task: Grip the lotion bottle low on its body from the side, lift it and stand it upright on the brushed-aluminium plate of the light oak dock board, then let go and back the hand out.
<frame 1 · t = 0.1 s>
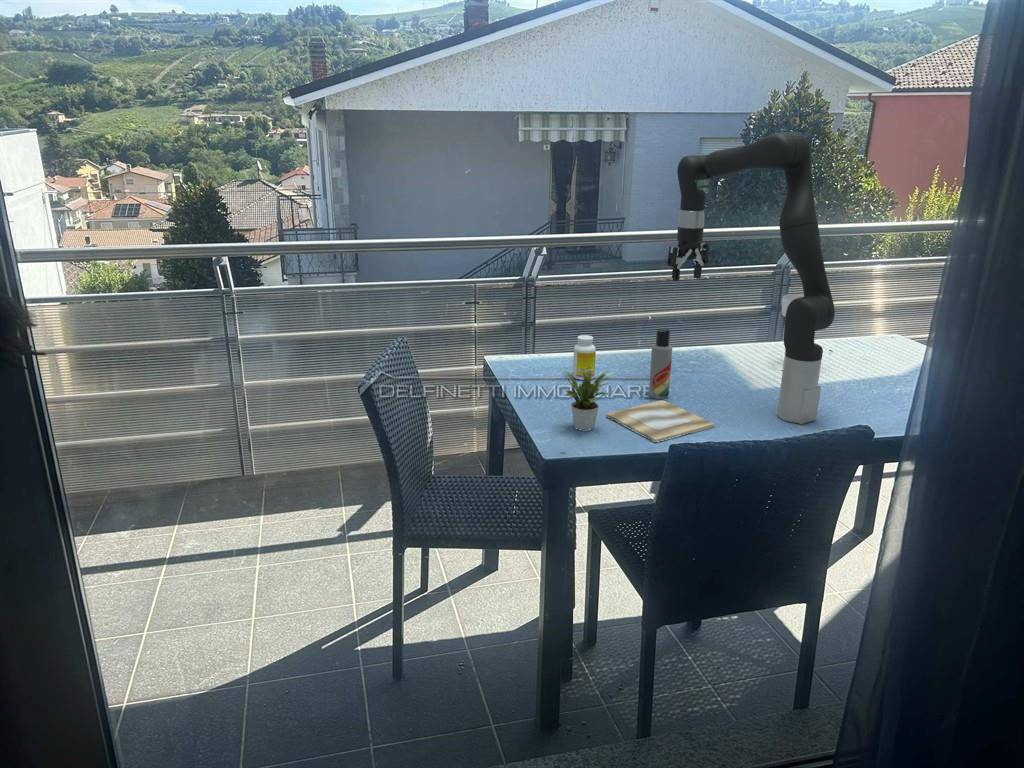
hand: (686, 279, 239), 29 cm above the table, tool pointing down, fingers open, 8 cm apart
lotion bottle: (658, 396, 227), on the table
house plant: (587, 429, 204), on the table
dock: (659, 422, 209), on the table
supplement bottle: (583, 378, 242), on the table
wineglass: (788, 368, 252), on the table
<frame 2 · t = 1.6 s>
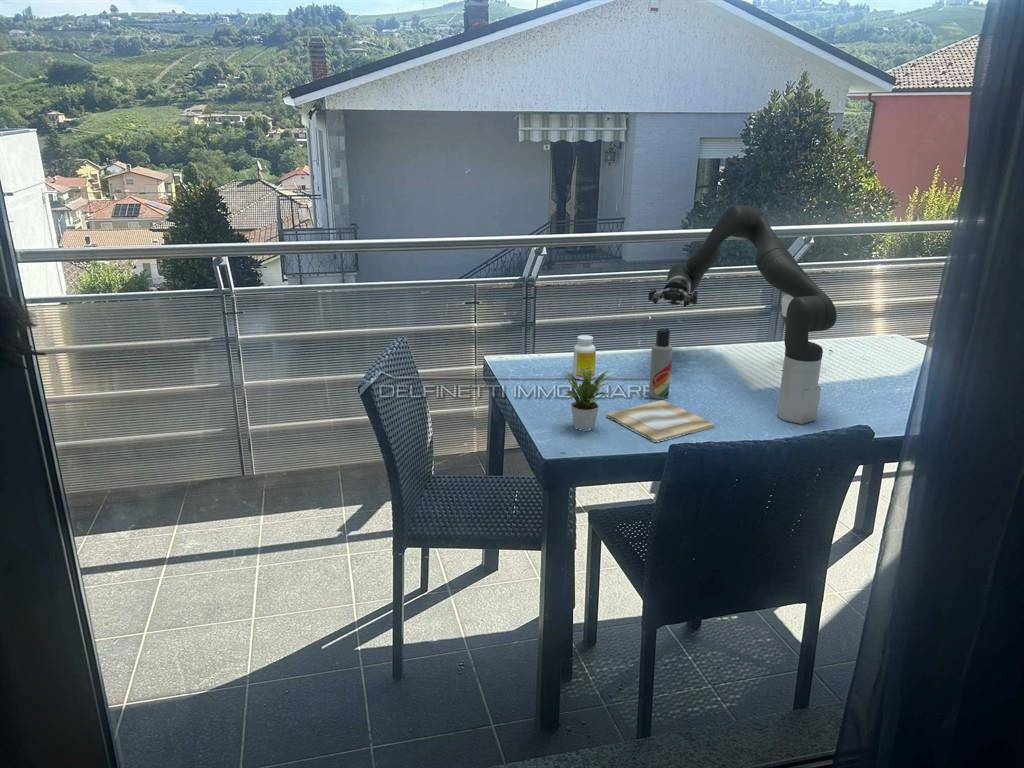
hand: (670, 302, 228), 25 cm above the table, tool horizontal, fingers open, 8 cm apart
nothing on the table moved.
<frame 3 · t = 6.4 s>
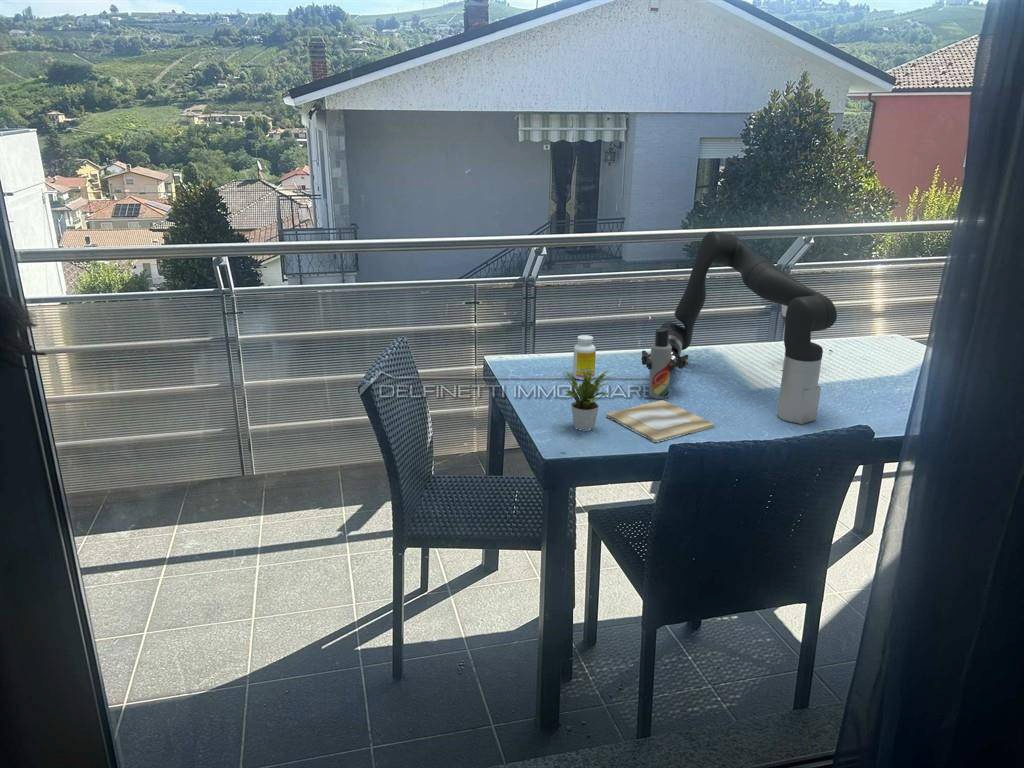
hand: (659, 367, 222), 10 cm above the table, tool horizontal, fingers closed on lotion bottle, 5 cm apart
lotion bottle: (658, 396, 227), on the table, touching gripper
everything else where it was.
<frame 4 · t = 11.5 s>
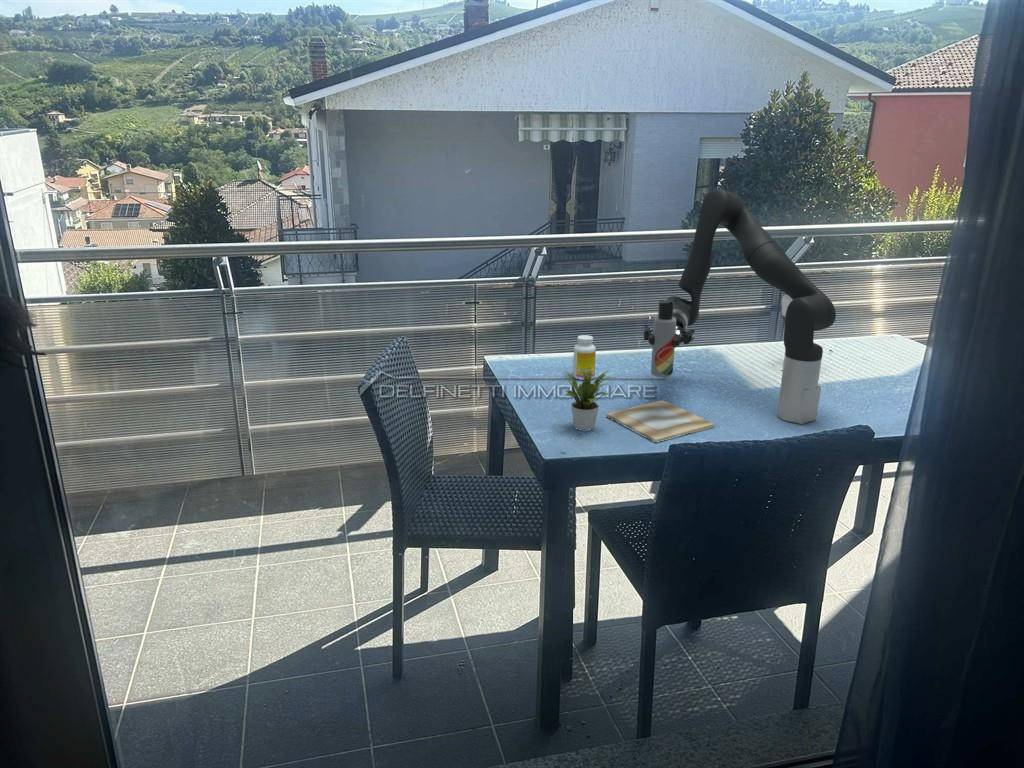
hand: (663, 342, 202), 22 cm above the table, tool horizontal, fingers closed on lotion bottle, 5 cm apart
lotion bottle: (661, 374, 208), point 12 cm above the table, touching gripper
everything else where it was.
when the fingers open (11 cm above the table, at t = 16.7 s): lotion bottle stays where it is, resting on dock.
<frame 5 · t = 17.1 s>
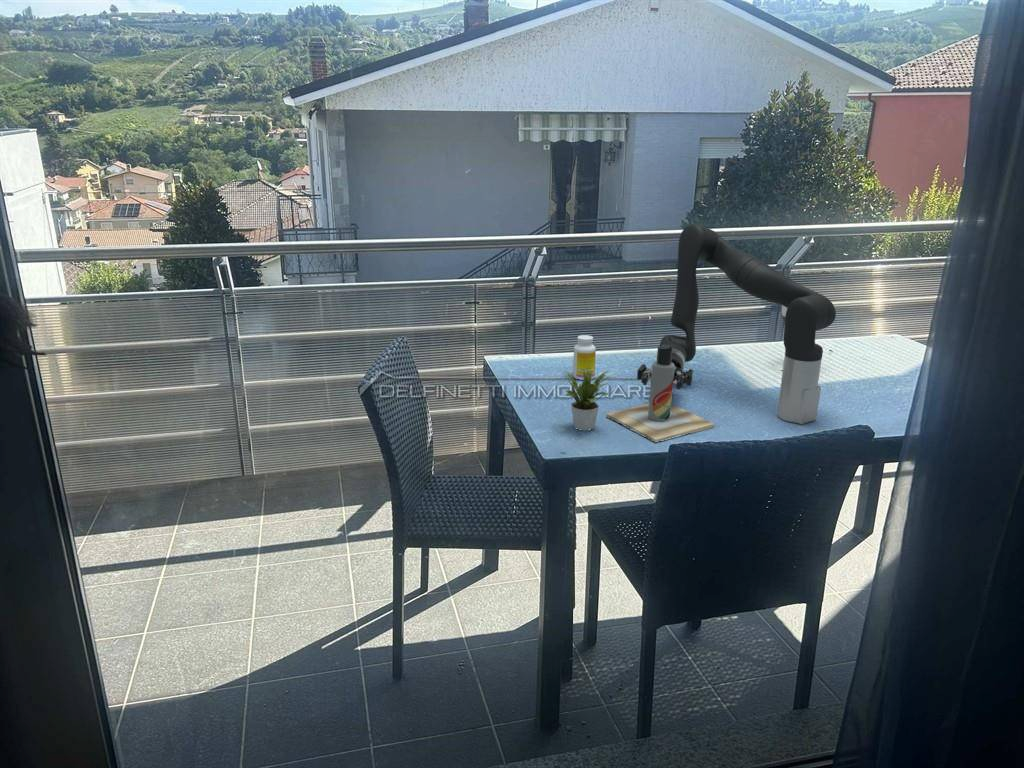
hand: (661, 383, 203), 12 cm above the table, tool horizontal, fingers open, 8 cm apart
lotion bottle: (658, 418, 209), point 1 cm above the table, touching dock
everything else where it was.
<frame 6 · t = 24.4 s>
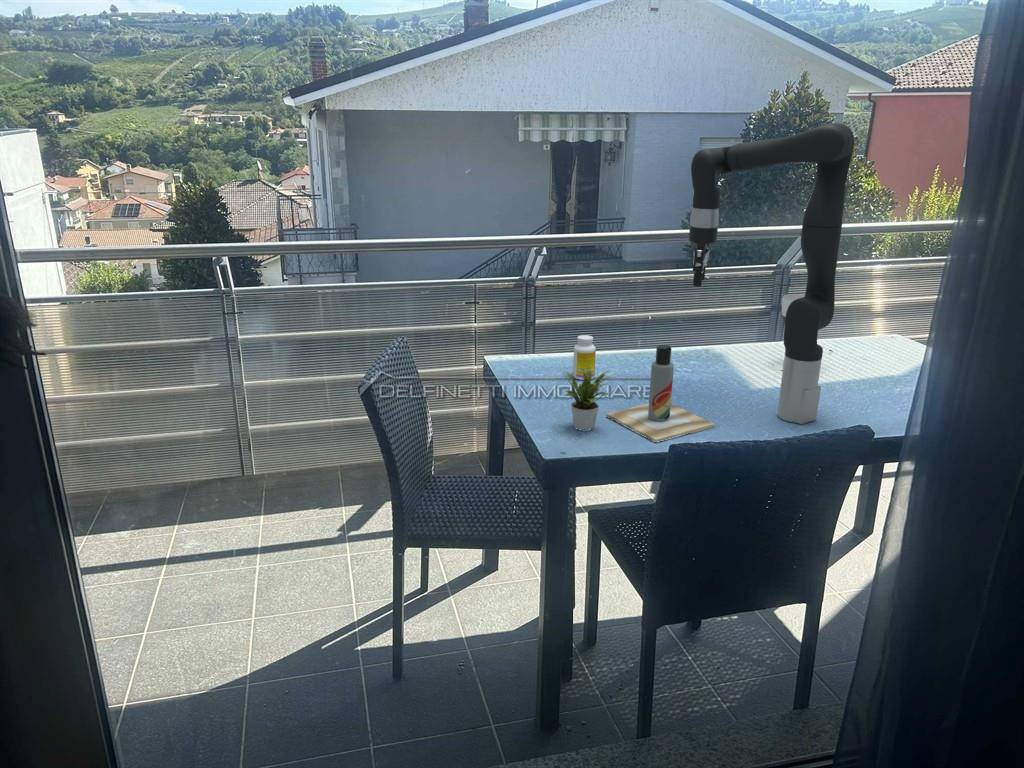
hand: (698, 282, 221), 32 cm above the table, tool pointing down, fingers open, 8 cm apart
nothing on the table moved.
at the end: lotion bottle inside the target area on the dock (0.3 cm from its centre), point 0.9 cm above the dock's base; lotion bottle tilted 0°; the gripper is holding nothing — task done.
